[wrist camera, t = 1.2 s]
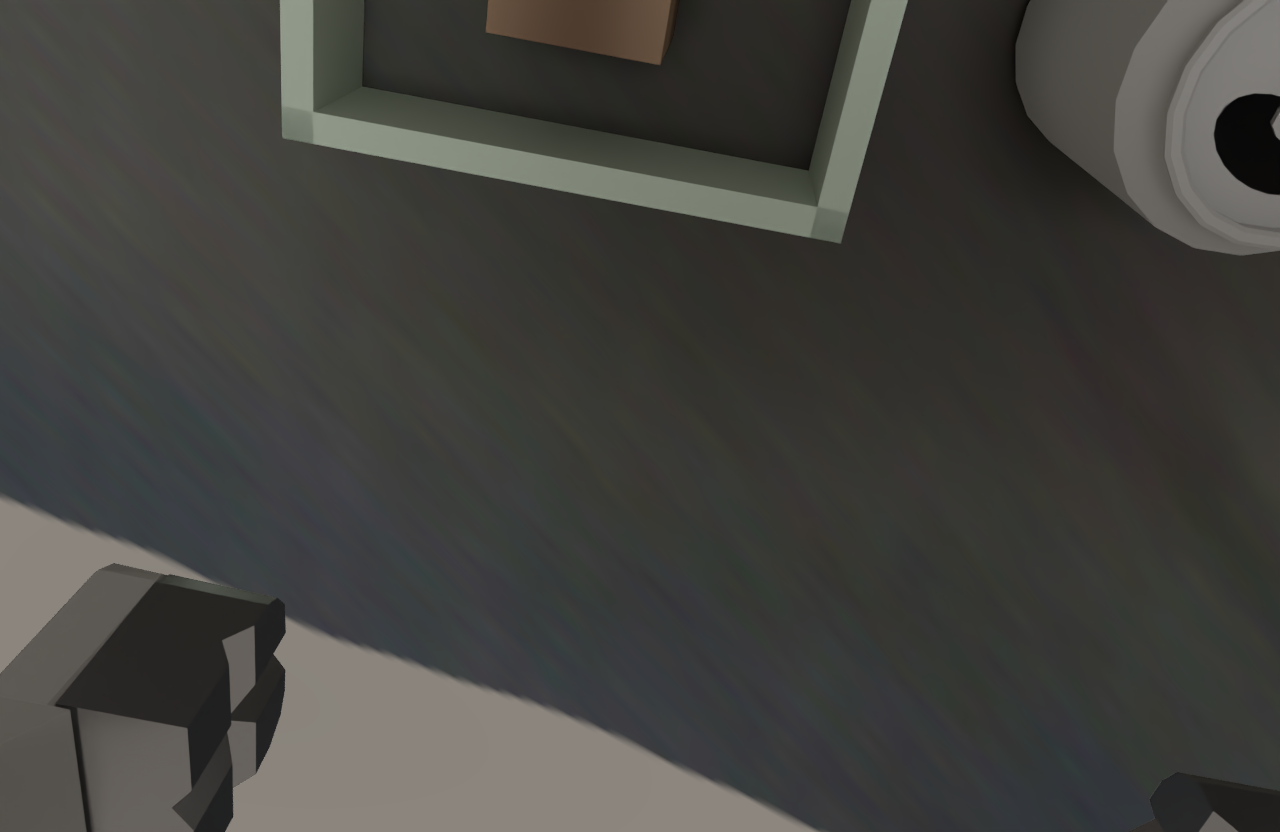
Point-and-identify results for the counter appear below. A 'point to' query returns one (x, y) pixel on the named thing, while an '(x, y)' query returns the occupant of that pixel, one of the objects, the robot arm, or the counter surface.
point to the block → (590, 25)
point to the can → (1165, 109)
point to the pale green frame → (587, 130)
